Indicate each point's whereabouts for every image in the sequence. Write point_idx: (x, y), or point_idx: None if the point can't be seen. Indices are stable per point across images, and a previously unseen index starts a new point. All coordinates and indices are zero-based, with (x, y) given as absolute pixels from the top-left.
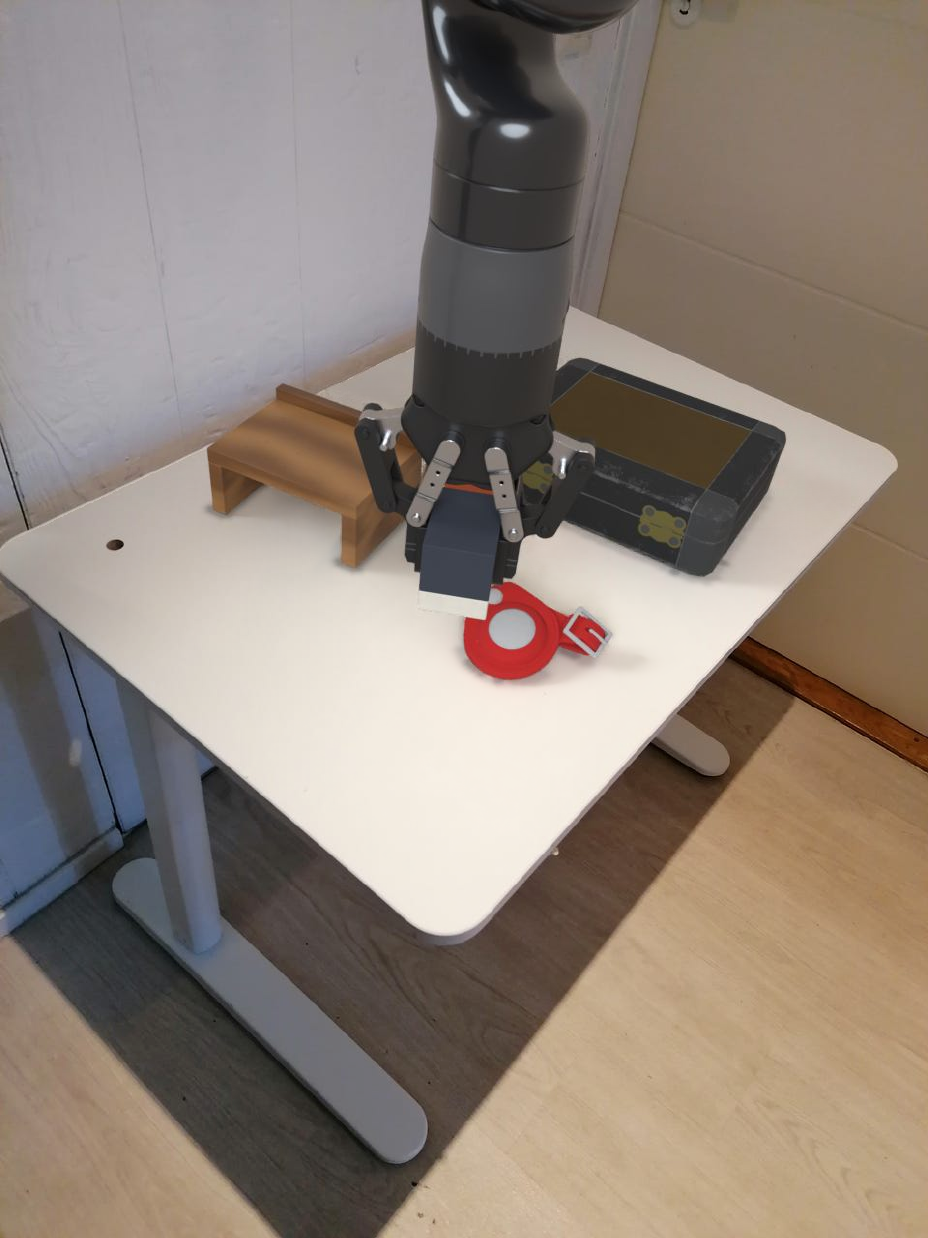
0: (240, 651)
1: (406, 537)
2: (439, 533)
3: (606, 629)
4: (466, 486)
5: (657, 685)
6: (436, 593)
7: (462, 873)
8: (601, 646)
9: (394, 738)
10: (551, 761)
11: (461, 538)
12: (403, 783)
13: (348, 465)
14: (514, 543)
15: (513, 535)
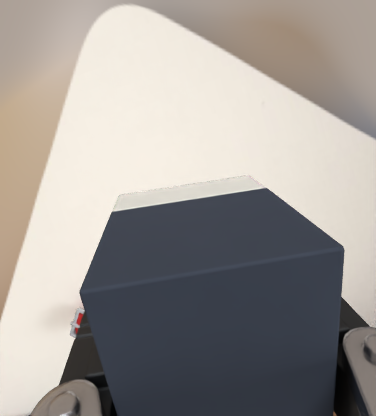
0: (347, 217)
1: (344, 302)
2: (298, 319)
3: (74, 336)
4: None
5: (27, 304)
6: (228, 194)
7: (116, 63)
8: (75, 319)
9: (210, 178)
10: (83, 201)
11: (221, 327)
12: (190, 137)
13: (334, 412)
14: (77, 379)
15: (60, 404)
